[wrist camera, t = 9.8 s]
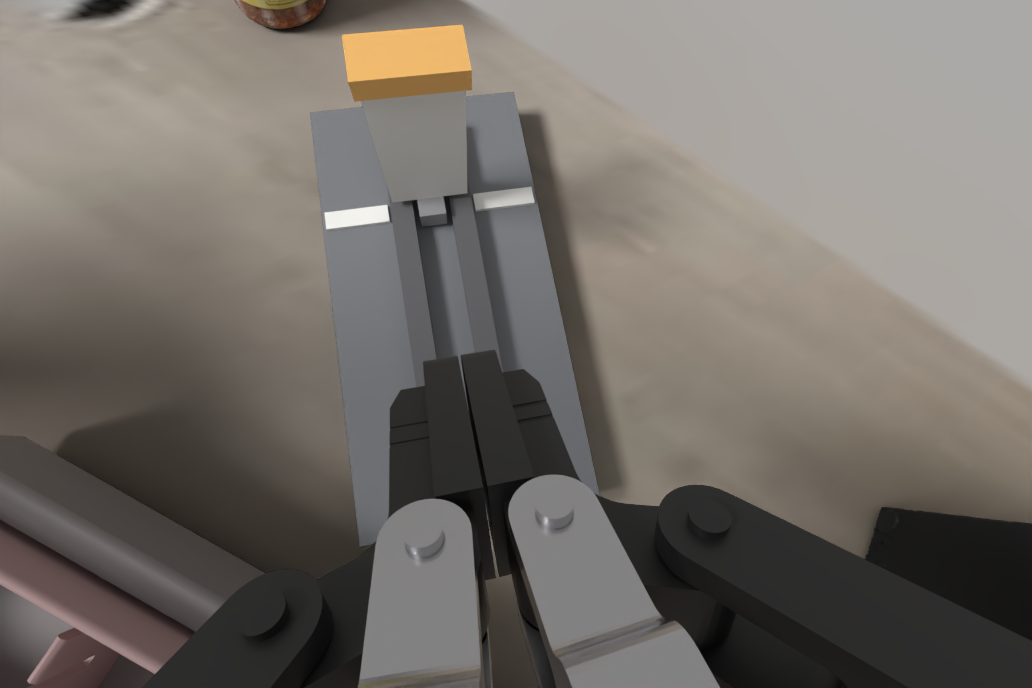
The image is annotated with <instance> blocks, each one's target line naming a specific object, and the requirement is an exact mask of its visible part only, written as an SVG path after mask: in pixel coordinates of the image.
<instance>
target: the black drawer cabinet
mask: <svg viewBox="0 0 1032 688" xmlns="http://www.w3.org/2000/svg"><path fill="white" fill-rule="evenodd" d="M874 530H875V531H874V535H873V538H872V541H871V544H870V546H869V550H868V554H867V555H866V560H867V561H869V562H871V563H873V564H875V565H877V566H879V567H881V568H883V569H885V570H887V571H889V572H891V573H893V574H895V575H898V576H900V577H902V578H904V579H906V580H908V581H910V582H912V583H914V584H916V585H918V586H920V587H922V588H924V589H926V590H928V591H930V592H932V593H934V594H937V595H939V596H941V597H943V598H945V599H947V600H949V601H951V602H953V603H955V604H957V605H959V606H961V607H963V608H965V609H967V610H969V611H971V612H973V613H975V614H978V615H980V616H982V617H984V618H986V619H988V620H990V621H992V622H994V623H996V624H998V625H1000V626H1002V627H1004V628H1006V629H1008V630H1010V631H1012V632H1014V633H1017V634H1019V635H1021V636H1023V637H1025V638H1027V639H1029V640H1031V641H1032V524H1030V523H1022V522H1008V521H1001V520H992V519H982V518H973V517H968V516H958V515H949V514H941V513H934V512H924V511H913V510H904V509H898V508H889V507H882V508H881V511H880V514H879V517H878V521H877V524H876V528H875V529H874Z"/></svg>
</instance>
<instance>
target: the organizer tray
mask: <svg viewBox="0 0 1032 688" xmlns="http://www.w3.org/2000/svg"><path fill="white" fill-rule="evenodd" d="M263 574H266V573H264V572H262V571H260V570H258V569H257V568H255V567H253V566H251V565H250V564H248V563H246V562H244V561H243V560H241V559H239V558H237V557H236V556H234V555H232V554H230V553H228V552H227V551H225V550H223V549H221V548H220V547H218V546H216V545H214V544H213V543H211V542H209V541H207V540H206V539H204V538H202V537H200V536H199V535H197V534H195V533H193V532H191V531H190V530H188V529H186V528H184V527H183V526H181V525H179V524H177V523H176V522H174V521H172V520H170V519H169V518H167V517H165V516H163V515H161V514H160V513H158V512H156V511H154V510H153V509H151V508H149V507H147V506H146V505H144V504H142V503H140V502H139V501H137V500H135V499H133V498H131V497H130V496H128V495H126V494H124V493H123V492H121V491H119V490H117V489H116V488H114V487H112V486H110V485H109V484H107V483H105V482H103V481H101V480H100V479H98V478H96V477H94V476H93V475H91V474H89V473H87V472H86V471H84V470H82V469H80V468H79V467H77V466H75V465H73V464H72V463H70V462H68V461H66V460H64V459H63V458H61V457H59V456H57V455H56V454H54V453H52V452H50V451H49V450H47V449H45V448H43V447H42V446H40V445H38V444H36V443H34V442H33V441H31V440H29V439H27V438H26V437H19V436H0V688H142V687H143V686H144V685H145V684H146V683H147V682H148V681H149V680H150V679H151V677H152V676H153V675H154V674H155V673H156V672H157V671H158V670H159V669H160V668H161V667H162V666H163V665H164V664H165V663H166V662H167V661H168V660H169V659H170V658H171V657H172V656H173V655H174V654H175V653H176V652H177V651H178V650H179V649H180V648H181V647H182V646H183V645H184V644H185V643H186V642H187V641H188V640H189V639H190V637H191V636H192V635H193V634H194V633H195V632H196V631H197V630H198V629H199V628H200V627H201V626H202V625H203V624H204V623H205V622H206V621H207V620H208V619H209V618H210V617H211V616H212V615H213V614H214V613H215V612H216V611H217V610H218V609H219V608H220V607H221V606H222V605H223V604H224V603H225V602H226V601H227V600H228V598H229V597H231V596H232V595H233V594H234V593H235V592H236V591H237V590H238V589H240V588H241V587H242V586H244V585H245V584H246V583H248V582H250V581H251V580H253V579H255V578H257V577H259V576H261V575H263Z"/></svg>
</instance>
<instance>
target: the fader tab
mask: <svg viewBox="0 0 1032 688" xmlns="http://www.w3.org/2000/svg"><path fill="white" fill-rule="evenodd" d="M342 40H343V47H344V54H345V62H346V69H347V77H348V83H349V86H350V89H351V92H352V95H353V98H354V101H355V102H356V101H361V103H362V106H363V109H364V113H365V116H366V119H367V122H368V126H369V129H370V132H371V135H372V138H373V142H374V145H375V148H376V151H377V155H378V158H379V161H380V164H381V167H382V171H383V174H384V177H385V180H386V184H387V187H388V190H389V193H390V196H391V200H392V203H394V202H402V201H410V200H417V202H418V208H419V215H420V220H421V224H422V227H425V226H433V225H440V224H447V215H446V209H445V203H444V197H443V196H450V195H458V194H466V193H467V140H466V90H472V70H471V65H470V60H469V55H468V50H467V44H466V39H465V34H464V29H463V25H452V26H440V27H429V28H417V29H405V30H393V31H381V32H369V33H357V34H345V35H342Z"/></svg>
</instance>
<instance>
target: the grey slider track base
mask: <svg viewBox="0 0 1032 688" xmlns="http://www.w3.org/2000/svg"><path fill="white" fill-rule="evenodd" d="M310 117H311V126H312V135H313V143H314V152H315V161H316V170H317V178H318V187H319V196H320V204H321V213H322V222H323V231H324V239H325V248H326V257H327V266H328V274H329V283H330V292H331V300H332V309H333V318H334V327H335V335H336V344H337V353H338V361H339V370H340V379H341V388H342V396H343V405H344V414H345V423H346V431H347V440H348V449H349V457H350V466H351V475H352V484H353V492H354V501H355V510H356V518H357V527H358V536H359V545H360V547H362V546H366V545H371V544H374V543H375V542H376V541H377V537H378V534H379V532H380V530H381V528H382V527H383V525H384V523H385V522H386V521H387V519H388V514H389V448H390V444H389V440H390V407H391V405H392V404H393V402H394V400H395V398H396V397H397V395H398V393H399V392H400V390H402V389H408V388H414V387H420V386H425V382H424V371H423V361H428V360H434V359H440V358H446V357H452V356H458V360H459V365H460V370H461V375H462V381H463V386H464V391H465V384H464V377H463V370H462V363H461V355H464V354H470V353H476V352H482V351H489V350H495V351H496V354H497V357H498V360H499V363H500V367H501V370H502V372H508V371H514V370H520V369H524V370H526V371H527V372H528V373H529V374H530V375H532V376H533V377H534V378H535V379H536V380H538V381H539V382H540V385H541V387H542V389H543V392H544V394H545V397H546V399H547V403H548V404H549V407H550V409H551V412H552V415H553V418H554V419H555V422H556V424H557V427H558V429H559V431H560V434H561V436H562V439H563V441H564V444H565V446H566V449H567V451H568V454H569V456H570V459H571V461H572V464H573V466H574V469H575V471H576V473H577V475H578V477H579V479H580V480H581V481H582V483H584V484H585V485H586V486H588V487H589V488H590V489H591V490H592V491H593V492H594V493H595V494H597V495H599V496H600V494H599V490H598V485H597V480H596V476H595V471H594V466H593V462H592V457H591V452H590V447H589V443H588V438H587V433H586V429H585V424H584V419H583V415H582V410H581V405H580V400H579V396H578V391H577V386H576V382H575V377H574V372H573V368H572V363H571V358H570V353H569V349H568V344H567V339H566V335H565V330H564V325H563V321H562V316H561V311H560V306H559V302H558V297H557V292H556V288H555V283H554V278H553V274H552V269H551V264H550V260H549V255H548V250H547V245H546V241H545V236H544V231H543V227H542V222H541V217H540V213H539V208H538V203H537V198H536V194H535V189H534V184H533V180H532V175H531V170H530V166H529V161H528V156H527V151H526V147H525V142H524V137H523V133H522V128H521V123H520V119H519V114H518V109H517V104H516V100H515V95H514V92H506V93H496V94H487V95H477V96H467V97H466V140H467V193H466V194H458V195H450V196H443V197H444V203H445V209H446V215H447V224H440V225H433V226H425V227H422V224H421V220H420V215H419V208H418V202H417V200H410V201H402V202H394V203H392V200H391V196H390V193H389V190H388V187H387V184H386V180H385V177H384V174H383V171H382V167H381V164H380V161H379V158H378V155H377V151H376V148H375V145H374V142H373V138H372V135H371V132H370V129H369V126H368V122H367V119H366V116H365V113H364V109H363V107H358V108H349V109H339V110H329V111H319V112H310ZM465 396H466V391H465ZM466 401H467V398H466ZM467 407H468V405H467ZM485 505H486V504H485ZM486 512H487V510H486ZM487 520H488V515H487Z"/></svg>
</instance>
